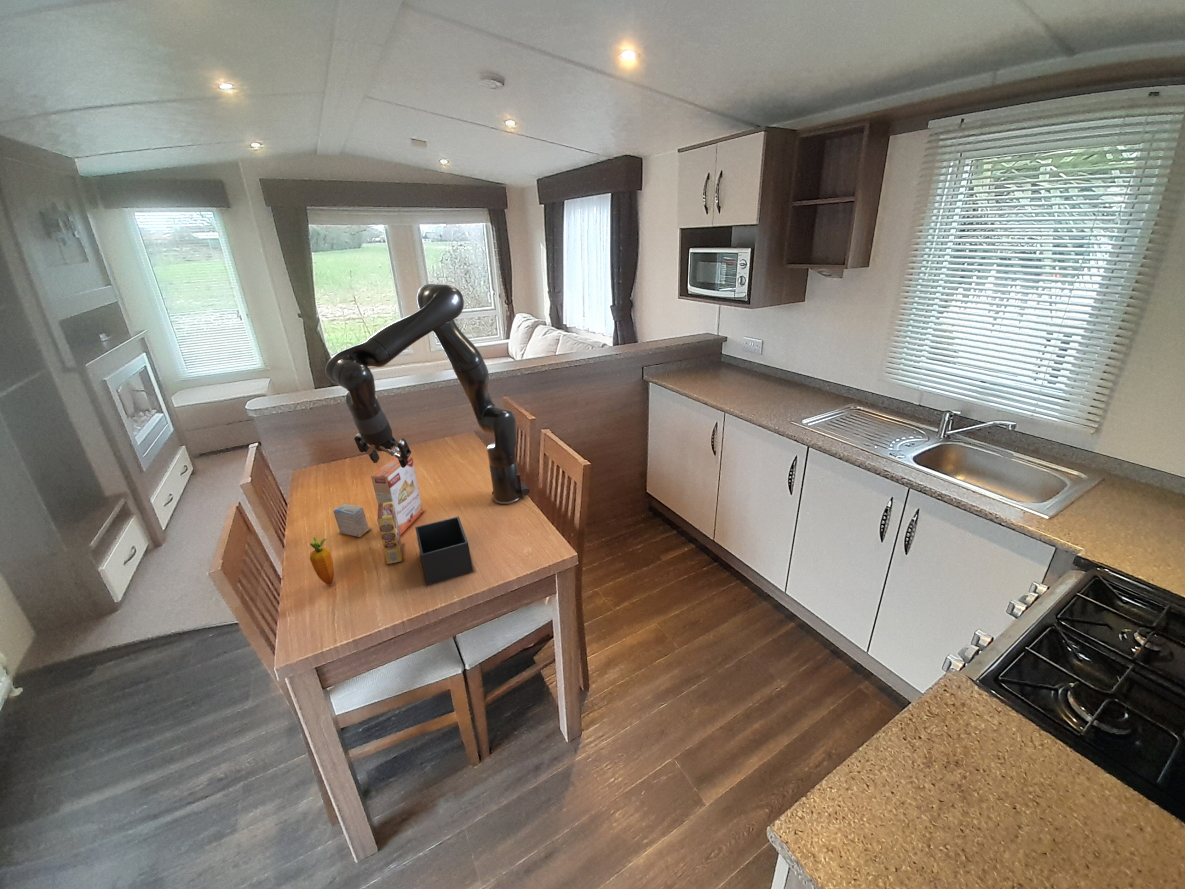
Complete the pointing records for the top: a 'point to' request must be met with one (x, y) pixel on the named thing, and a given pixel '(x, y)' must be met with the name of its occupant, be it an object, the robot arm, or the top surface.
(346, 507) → the medicine box
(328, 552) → the carrot
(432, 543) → the waste bin
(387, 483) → the cracker box
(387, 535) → the candy box
